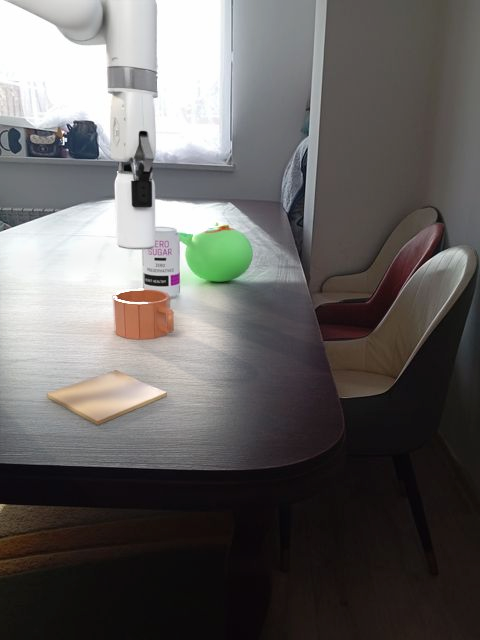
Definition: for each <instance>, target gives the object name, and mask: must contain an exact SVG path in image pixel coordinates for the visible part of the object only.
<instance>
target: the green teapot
mask: <svg viewBox="0 0 480 640" xmlns="http://www.w3.org/2000/svg"><path fill="white" fill-rule="evenodd" d="M177 233H178V235H179V236H180V242H181V243H182V244H184V245H185V246H186V247H185V255H184V256H185V261H186V264H187V266H188V267H189V269H190V271H191V272H192V273H193V274H194V275H195V276H197V277H198V278H200V279H203V280H205V281H207V282H208V281H209V282H215V283H220V282H222V283H223V282H228V281H232V280H235V279H237V278H240V277H241V276H243V274H245V273H246V272H247V271H248V269H249V268H250V266H251V264H252V262H253V256H254V255H253V254H254V253H253V246H252V244H251V242H250V240H249V238H248V237H247V236H246V235H245V234H244V233H242V232H241V231H240V230H237V229H235V228H233V227H230V225H229V224H221V225H219V223H218V222H217V221H213V222H212V223H211V225H209V227H206V228H203V229H201V230H199V231H198V232H196V233H189V232H182V231H177Z"/></svg>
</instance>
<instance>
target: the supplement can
mask: <svg viewBox="0 0 480 640" xmlns="http://www.w3.org/2000/svg"><path fill="white" fill-rule="evenodd" d="M177 232H178V231H177V228H176V227H172V226H171V227H170V226H155V246H154V247H153V248H150V249H141V264H142V265H141V266H142V289H149V290H158V291H162V292H165V293H167V294H168V295H169V296H170V300H172V299H175V298H177V297H178V295H179V294H180V293H181V260H180V259H181V251H180V249H181V246H180V242H181V241H180V236H179V235H178V233H177Z"/></svg>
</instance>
